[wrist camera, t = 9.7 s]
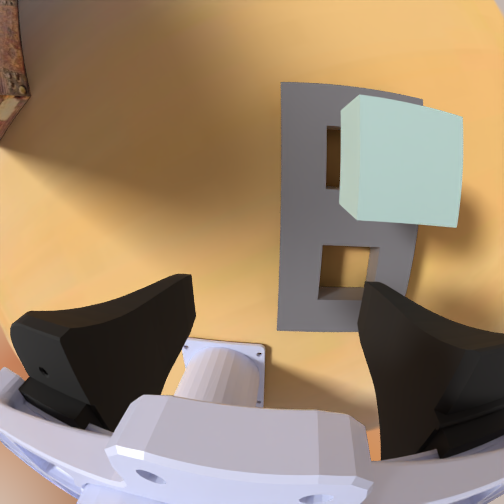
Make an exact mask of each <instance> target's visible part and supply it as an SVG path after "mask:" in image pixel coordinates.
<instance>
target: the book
mask: <svg viewBox="0 0 504 504" xmlns="http://www.w3.org/2000/svg"><path fill="white" fill-rule="evenodd" d="M30 96H31V94H30V90H29V85H28V81H27V76H26V71H25V65H24V59H23V52H22V45H21V37H20V27H19V12H18V0H0V139H1V138H2V136H3V134H4V133H5V131H6V130H7V128H8V127H9V125H10V124H11V122H12V121H13V119H14V118H15V116H16V115H17V114H18V112H19V111H20V109H21V108H22V107H23V105H24V104H25V103H26V101H27V100H28V99H29V97H30Z"/></svg>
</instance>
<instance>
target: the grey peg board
mask: <svg viewBox="0 0 504 504" xmlns="http://www.w3.org/2000/svg"><path fill="white" fill-rule="evenodd" d="M359 94H360V95H367V96H374V97H380V98H386V99H392V100H397V101H402V102H407V103H412V104H416V105H421V106H423V99H419V98H415V97H410V96H406V95H401V94H396V93H391V92H385V91H379V90H373V89H366V88H359V87H351V86H342V85H332V84H319V83H299V82H281V230H280V267H279V294H278V318H277V331H304V332H358V326H357V322H358V317H359V312H360V307H361V302H362V296H363V291H364V288H361V287H319V281H320V271H321V259H322V247H323V245H335V246H361V247H370V254H369V262H368V269H367V275H366V281H368V282H381V283H383V284H385V285H387V286H389V287H390V288H392V289H394V290H395V291H397V292H398V293H400V294H402V295H403V296H405V295H406V291H407V286H408V282H409V277H410V272H411V267H412V262H413V256H414V251H415V244H416V238H417V231H418V224H407V223H393V222H378V221H362V220H356V219H355V218H354V217H353V216H352V215H351V214H350V213H349V212H347V211H346V210H345V209H344V208H343V207H342V206H341V205H340V204H339V193H340V187H334V186H326V161H327V129H331V130H341V110H342V109H343V108H344V107H345V106H346V105H348V104H349V103H350V102H351V101H352V100H353V99H355V98H356V97H357V96H358V95H359Z"/></svg>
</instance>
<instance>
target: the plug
mask: <svg viewBox="0 0 504 504" xmlns="http://www.w3.org/2000/svg"><path fill="white" fill-rule="evenodd" d="M462 171H463V117H461V116H458V115H455V114H451V113H448V112H444V111H441V110H437V109H433V108H429V107H425V106H421V105H416V104H412V103H407V102H402V101H397V100H392V99H386V98H380V97H374V96H367V95H360V94H359V95H358V96H357V97H356V98H355V99H353V100H352V101H351V102H350V103H349V104H348V105H346V106H345V107H344V108H343V109H342V110H341V165H340V193H339V204H340V205H341V206H342V207H343V208H344V209H345V210H346V211H347V212H349V213H350V214H351V215H352V216H353V217H354V218H355V219H356V220H362V221H378V222H393V223H407V224H420V225H432V226H443V227H454V228H457V222H458V215H459V207H460V198H461V187H462Z"/></svg>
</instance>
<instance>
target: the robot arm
mask: <svg viewBox="0 0 504 504" xmlns="http://www.w3.org/2000/svg"><path fill="white" fill-rule="evenodd" d="M195 317H196V312H195V304H194V295H193V286H192V276H191V275H190V274H175V275H172V276H169V277H167V278H165V279H162V280H160V281H158V282H156V283H153V284H151V285H149V286H147V287H145V288H142V289H140V290H137V291H135V292H133V293H130V294H128V295H125V296H123V297H120V298H117V299H114V300H111V301H107V302H104V303H100V304H96V305H91V306H86V307H82V308H75V309H68V310H57V311H29V312H27V313H25V314H24V315H23V316H22V317H20V318H19V319H18V320H16V321H15V322H14V323H13V324H12V325H11V328H10V336H11V340H12V343H13V346H14V348H15V351H16V353H17V355H18V357H19V359H20V360H21V362H22V364H23V366H24V368H25V370H26V372H27V373H28V375H29V376H30V377H29V378H28V379H27V380H26V381H24V380H23V379H22V378H21V377H20V376H19V375H17V374H16V373H14V372H13V371H11V370H9V369H8V368H6V367H4V368H2V369H1V370H0V441H1V442H2V443H3V444H4V445H5V446H6V447H7V448H8V449H9V450H10V451H12V452H13V453H14V454H15V455H16V456H17V457H19V458H20V459H21V460H23V461H24V462H25V463H26V464H27V465H29V466H30V467H31V468H32V469H34V470H35V471H37V472H38V473H39V474H41V475H42V476H43V477H45V478H46V479H47V480H49V481H50V482H52V483H53V484H55V485H56V486H58V487H59V488H61V489H62V490H64V491H65V492H67V493H68V494H70V495H71V496H73V497H75V498H76V499H78V501H77V503H76V504H487V503H489V502H491V501H493V500H494V499H496V498H498V497H499V496H501V495H503V494H504V334H502V333H494V332H489V331H484V330H480V329H476V328H472V327H469V326H466V325H463V324H460V323H457V322H454V321H451V320H449V319H446V318H444V317H442V316H440V315H437V314H435V313H433V312H431V311H429V310H427V309H425V308H424V307H422V306H420V305H418V304H416V303H415V302H413V301H411V300H410V299H408V298H407V297H405V296H403V295H402V294H400V293H398V292H397V291H395V290H394V289H392V288H390V287H389V286H387V285H385V284H383V283H381V282H368V281H365V285H364V291H363V296H362V302H361V307H360V312H359V317H358V322H357V326H358V332H359V337H360V343H361V346H362V349H363V352H364V355H365V358H366V361H367V364H368V367H369V371H370V374H371V377H372V380H373V384H374V388H375V392H376V399H377V406H378V414H379V424H380V439H381V461H371V458H370V452H369V446H368V440H367V434H366V428H365V426H364V425H363V424H361V423H360V422H358V421H357V420H356V419H354V418H353V417H351V416H350V415H348V414H344V413H338V412H330V411H323V410H317V409H277V408H263V405H264V376H265V347H264V345H262V344H250V343H237V342H225V341H215V340H205V339H196V338H188V336H189V334H190V332H191V329H192V326H193V323H194V320H195ZM185 345H186V346H188V347H186V346H185ZM181 350H182V352H183V358H184V363H185V368H186V370H185V372H184V374H183V376H182V378H181V381H180V383H179V385H178V387H177V389H176V392H175V394H174V396H173V395H161V392H162V389H163V387H164V384H165V381H166V379H167V377H168V374H169V372H170V370H171V368H172V366H173V365H174V363H175V361H176V359H177V357H178V355H179V353H180V352H181ZM258 353H262V354H258Z"/></svg>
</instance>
